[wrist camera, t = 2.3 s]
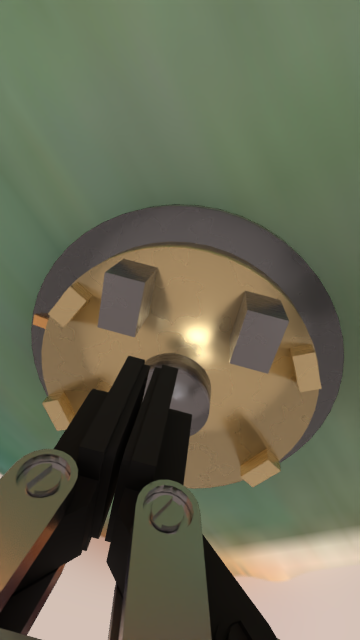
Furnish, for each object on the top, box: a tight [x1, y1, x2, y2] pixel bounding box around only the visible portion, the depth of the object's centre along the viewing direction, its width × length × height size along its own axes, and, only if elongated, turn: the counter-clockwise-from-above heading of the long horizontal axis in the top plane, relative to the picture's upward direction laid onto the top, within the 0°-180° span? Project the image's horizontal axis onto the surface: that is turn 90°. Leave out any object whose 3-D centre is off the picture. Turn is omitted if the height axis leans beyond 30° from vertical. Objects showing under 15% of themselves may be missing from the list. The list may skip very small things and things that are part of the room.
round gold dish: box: [41, 241, 322, 488], centre depth 21 cm, size 18×18×5 cm
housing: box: [31, 204, 344, 463], centre depth 24 cm, size 22×22×2 cm
